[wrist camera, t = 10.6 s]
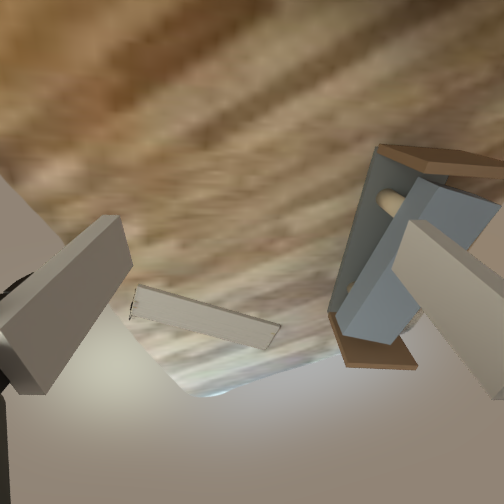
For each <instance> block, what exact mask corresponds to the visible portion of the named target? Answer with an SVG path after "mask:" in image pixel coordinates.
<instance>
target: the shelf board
mask: <svg viewBox="0 0 504 504" xmlns="http://www.w3.org/2000/svg"><path fill="white" fill-rule="evenodd" d="M501 207H502V206H501V205H499V204H496V203H494V202H492V201H489V200H487V199H485V198H482V197H480V196H478V195H475V194H472V193H469V192H466V191H463V190H459V189H456V188H453V187H450V186H447V185H443V184H440V183H437V182H434V181H431V180H427V179H424V178H421V177H418V178H417V180H416V181H415V183H414V185H413V186H412V188H411V190H410V191H409V193H408V195H407V196H406V198H405V200H404V201H403V203H402V205H401V206H400V208H399V210H398V211H397V213H396V215H395V216H394V218H393V220H392V221H391V223H390V225H389V226H388V228H387V230H386V231H385V233H384V235H383V237H382V238H381V240H380V242H379V243H378V245H377V247H376V248H375V250H374V252H373V253H372V255H371V257H370V258H369V260H368V262H367V263H366V265H365V267H364V268H363V270H362V272H361V273H360V275H359V277H358V278H357V280H356V282H355V283H354V285H353V287H352V288H351V290H350V292H349V293H348V295H347V297H346V298H345V300H344V302H343V303H342V305H341V307H340V308H339V310H338V312H337V313H336V315H335V317H336V319H337V322H338V325H339V327H340V330H341V332H342V335H344V336H349V337H354V338H359V339H364V340H369V341H374V342H379V343H384V344H388V345H391V344H392V343H393V341H394V340H395V339H396V338H397V336H398V335H399V334H400V333H401V331H402V330H403V329H404V328H405V326H406V325H407V324H408V323H409V321H410V320H411V319H412V318H413V316H414V315H415V314H416V313H417V311H418V310H419V309H420V308H421V307H420V306H419V305H418V303H417V302H416V301H415V299H414V298H413V297H412V295H411V294H410V293H409V292H408V290H407V289H406V288H405V286H404V285H403V284H402V282H401V281H400V280H399V279H398V277H397V276H396V275H395V273H394V272H393V271H392V269H391V268H392V266H393V263H394V260H395V257H396V255H397V252H398V249H399V246H400V243H401V241H402V238H403V235H404V232H405V230H406V227H407V224H408V221H409V220H427V221H428V222H429V223H431V224H432V225H433V226H435V227H436V228H437V229H439V230H440V231H441V232H442V233H444V234H445V235H446V236H448V237H449V238H450V239H452V240H453V241H454V242H456V243H457V244H458V245H460V246H461V247H462V248H464V249H465V250H467V249H468V248H469V247H470V245H471V244H472V243H473V242H474V240H475V239H476V238H477V237H478V235H479V234H480V233H481V232H482V230H483V229H484V228H485V227H486V225H487V224H488V223H489V222H490V221H491V219H492V218H493V217H494V216H495V214H496V213H497V212H498V211H499V209H500V208H501Z"/></svg>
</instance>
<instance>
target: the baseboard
mask: <svg viewBox="0 0 504 504" xmlns="http://www.w3.org/2000/svg"><path fill="white" fill-rule="evenodd" d="M135 291H136V294H134V295H135V299H134V298H133V300H134V304H133V302H132V303H131V309H132V312H130V313H132V315H133V316H137V317H141V318H144V319H148V320H152V321H156V322H160V323H163V324H167V325H171V326H175V327H179V328H182V329H186V330H190V331H194V332H198V333H201V334H205V335H209V336H213V337H216V338H220V339H224V340H228V341H232V342H235V343H239V344H243V345H247V346H251V347H254V348H258V349H262V350H265V349H267V347H268V345H269V343H270V342H271V340H272V339H273V337H274V335H275V334H276V333H277V331H278V329H279V328H280V325H279V324H277V323H273V322H270V321H267V320H263V319H260V318H256V317H253V316H249V315H246V314H242V313H239V312H235V311H232V310H228V309H225V308H221V307H218V306H214V305H211V304H208V303H204V302H201V301H197V300H194V299H190V298H187V297H183V296H180V295H176V294H173V293H169V292H166V291H162V290H159V289H155V288H152V287H149V286H145V285H142V284H138V286H137V290H136V289H135ZM132 304H133V308H132ZM131 309H130V310H131ZM132 315H131V316H132ZM129 318H130V319H131V317H130V316H129ZM130 319H129V320H130Z"/></svg>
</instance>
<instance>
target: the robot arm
mask: <svg viewBox="0 0 504 504" xmlns="http://www.w3.org/2000/svg"><path fill="white" fill-rule="evenodd" d="M132 267H133V262H132V259H131V255H130V251H129V248H128V244H127V240H126V237H125V233H124V229H123V225H122V222H121V218H120V215H102V216H101V217H100V218H99V219H97V220H96V221H95V222H94V223H93V224H91V225H90V226H89V227H88V228H87V229H85V230H84V231H83V232H82V233H81V234H80V235H78V236H77V237H76V238H75V239H74V240H72V241H71V242H70V243H69V244H68V245H66V246H65V247H64V248H63V249H62V250H60V251H59V252H58V253H57V254H56V255H55V256H53V257H52V258H51V259H50V260H49V261H48V262H46V263H45V264H44V265H43V266H42V267H40V268H39V269H38V270H37V271H35V272H33V273H31V274H29V275H27V276H25V277H23V278H21V279H19V280H18V281H16V282H15V283H13V284H12V285H11V286H10V287H8V288H7V289H6V290H5V291H4V293H3V294H0V504H11V501H10V483H9V462H8V443H7V442H8V441H7V422H6V403H5V400H4V398H3V396H2V395H1V393H2V391H3V390H4V389H5V388H6V387H7V385H8V384H9V383H10V384H11V385H12V386H13V387H14V388H15V390H16V391H17V392H18V394H19V395H46V394H47V392H48V391H49V389H50V388H51V386H52V384H53V383H54V382H55V380H56V379H57V377H58V376H59V374H60V373H61V372H62V370H63V369H64V367H65V366H66V364H67V363H68V361H69V360H70V358H71V357H72V355H73V353H74V352H75V351H76V349H77V348H78V346H79V345H80V343H81V342H82V341H83V339H84V338H85V336H86V335H87V333H88V332H89V330H90V329H91V327H92V326H93V324H94V323H95V321H96V320H97V318H98V317H99V315H100V314H101V312H102V311H103V309H104V308H105V307H106V305H107V304H108V302H109V301H110V299H111V298H112V296H113V295H114V293H115V292H116V290H117V289H118V287H119V286H120V284H121V283H122V281H123V280H124V278H125V277H126V276H127V274H128V273H129V271H130V270H131V268H132ZM391 269H392V271H393V272H394V273H395V275H396V276H397V277H398V279H399V280H400V281H401V282H402V284H403V285H404V286H405V288H406V289H407V290H408V292H409V293H410V294H411V295H412V297H413V298H414V299H415V301H416V302H417V303H418V305H419V306H420V307H421V308H422V310H423V311H424V312H425V313H426V315H427V316H428V317H429V319H430V320H431V321H432V323H433V324H434V325H435V327H436V328H437V329H438V331H439V332H440V333H441V334H442V336H443V337H444V338H445V340H446V341H447V342H448V343H449V345H450V346H451V347H452V349H453V350H454V351H455V353H456V354H457V355H458V357H459V358H460V359H461V361H462V362H463V363H464V364H465V366H466V367H467V368H468V370H469V371H470V372H471V373H472V375H473V376H474V377H475V379H476V380H477V381H478V383H479V384H480V385H481V386H482V388H483V389H484V390H485V392H486V393H487V394H488V396H489V397H490V398H491V400H504V279H503V278H502V277H501V276H499V275H498V274H497V273H495V272H494V271H493V270H491V269H490V268H489V267H487V266H486V265H485V264H483V263H482V262H481V261H479V260H478V259H477V258H475V257H474V256H473V255H472V254H470V253H469V252H468V251H466V250H465V249H464V248H462V247H461V246H460V245H458V244H457V243H456V242H454V241H453V240H452V239H450V238H449V237H448V236H446V235H445V234H444V233H442V232H441V231H440V230H439V229H437V228H436V227H435V226H433V225H432V224H431V223H429V222H428V221H427V220H409V221H408V224H407V227H406V230H405V232H404V235H403V238H402V241H401V243H400V246H399V249H398V252H397V255H396V257H395V260H394V263H393V266H392V268H391Z"/></svg>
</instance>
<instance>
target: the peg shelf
mask: <svg viewBox="0 0 504 504" xmlns="http://www.w3.org/2000/svg"><path fill="white" fill-rule="evenodd" d="M449 175H452V176H466V177H479V178H492V179H504V161H500V160H496V159H492V158H488V157H484V156H480V155H476V154H473V153H469V152H465V151H461V150H449V149H436V148H424V147H411V146H399V145H386V144H379V147H375V149H374V153H373V156H372V160H371V163H370V167H369V170H368V173H367V177H366V180H365V184H364V187H363V190H362V194H361V197H360V201H359V204H358V208H357V211H356V214H355V218H354V221H353V225H352V228H351V231H350V235H349V238H348V242H347V245H346V249H345V252H344V255H343V259H342V262H341V266H340V269H339V273H338V276H337V279H336V283H335V286H334V290H333V293H332V296H331V300H330V303H329V307H328V310H327V312H328V318H329V320H330V323H331V326H332V329H333V332H334V334H335V337H336V340H337V343H338V346H339V348H340V351H341V354H342V357H343V360H344V363H345V365H346V367H349V368H374V369H397V370H416V369H417V367H418V364H417V363H416V361H415V360H414V358H413V356H412V355H411V353H410V352H409V350H408V348H407V347H406V345H405V344H404V342H403V341H402V339H401V337H400V336H399V335H398V336H397V338H396V339H395V340H394V341H393V343H392V344H391V345H388V344H384V343H379V342H374V341H369V340H364V339H359V338H354V337H349V336H344V335H342V332H341V330H340V327H339V325H338V322H337V319H336V317H335V315H336V313H337V312H338V310H339V308H340V307H341V305H342V303H343V302H344V300H345V298H346V297H347V295H348V293H349V292H350V290H351V288H352V287H353V285H354V283H355V282H356V280H357V278H358V277H359V275H360V273H361V272H362V270H363V268H364V267H365V265H366V263H367V262H368V260H369V258H370V257H371V255H372V253H373V252H374V250H375V248H376V247H377V245H378V243H379V242H380V240H381V238H382V237H383V235H384V233H385V231H386V230H387V228H388V226H389V225H390V223H391V221H392V220H393V218H394V216H395V215H396V213H397V211H398V210H399V208H400V206H401V205H402V203H403V201H404V200H405V198H406V196H407V195H408V193H409V191H410V190H411V188H412V186H413V185H414V183H415V181H416V180H417V178H418V177H421V178H424V179H427V180H431V181H434V182H437V183H440V184H443V185H445V183H446V181H447V179H448V176H449Z"/></svg>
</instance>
